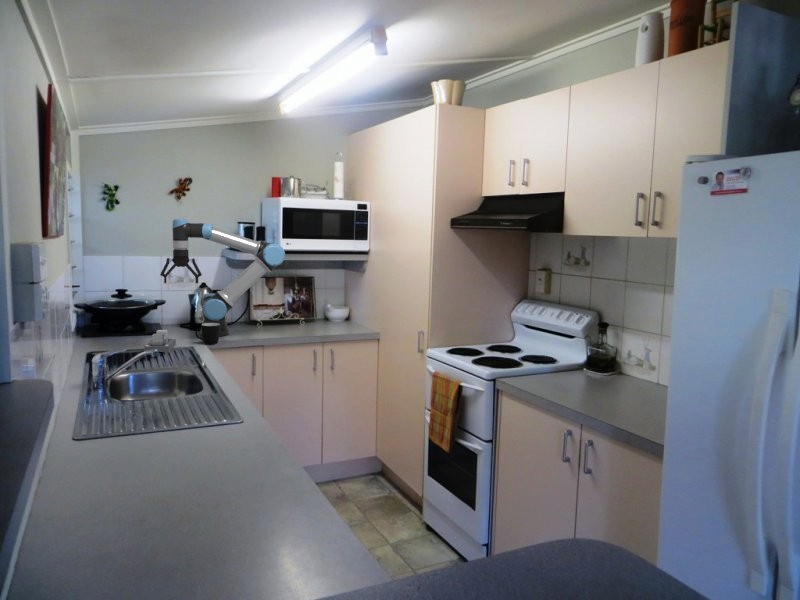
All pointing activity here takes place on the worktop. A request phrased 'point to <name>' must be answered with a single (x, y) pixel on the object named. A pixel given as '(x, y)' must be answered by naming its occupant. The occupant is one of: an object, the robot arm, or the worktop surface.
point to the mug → (209, 333)
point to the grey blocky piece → (167, 345)
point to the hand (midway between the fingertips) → (181, 289)
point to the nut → (158, 340)
